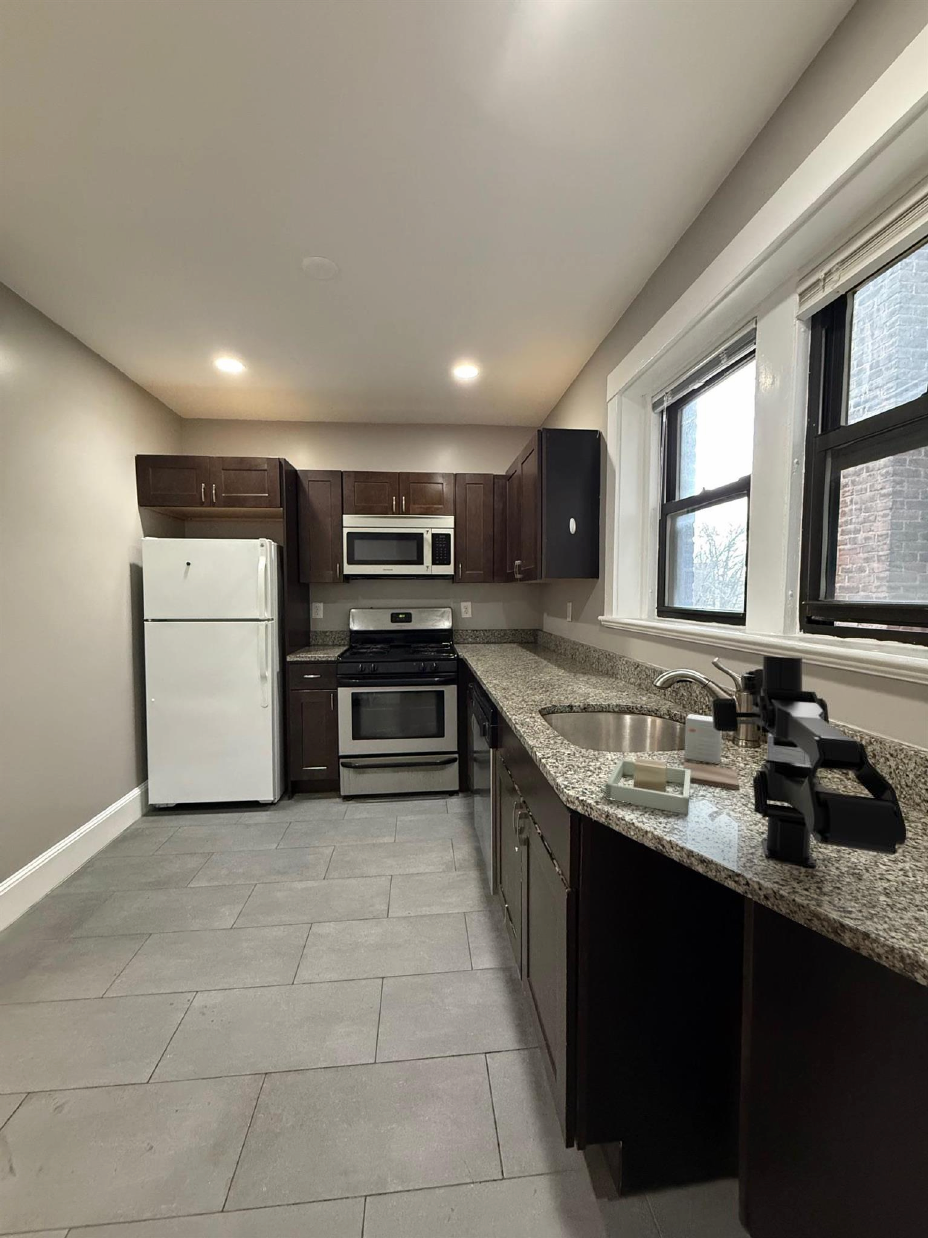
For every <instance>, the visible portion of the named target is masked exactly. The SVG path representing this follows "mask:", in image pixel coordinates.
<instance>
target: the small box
mask: <svg viewBox="0 0 928 1238" xmlns="http://www.w3.org/2000/svg"><path fill="white" fill-rule="evenodd" d="M684 732H685V733H684V759H687V760H692V761H698V762H705V763H711V764H718V765H719V763H720V761H721V759H722V743H723V742H722V740H723V739H722V738H723V737H722V736H723V735H722V734H723V731H717V730H716V729H714V728H713V718H712V716H709V715H708V716H707V715H700V714H699V715H698V714H691V713H689V714H688V715H687V716H686V717H685V730H684Z"/></svg>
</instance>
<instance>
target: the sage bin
mask: <svg viewBox="0 0 928 1238" xmlns="http://www.w3.org/2000/svg"><path fill="white" fill-rule="evenodd" d="M635 761H636V760H627V759H622V758H619V760H618V762H616V765H615V767H614V769H613V771H612V772H611V774H610V775H609V778H608V780H607V782H606V783H605V798H606V797H607V798H612V799H615V800H619V801H624V802H627V803H626V804H629V803H631V804H630V805H636V806H640V807H645V808H651V809H656V810H657V809H658V810H663V811H667V812H672V813H673V812H674V813H677V814H683V815H689V809H690V808H689V806H690V790H691V782H690V775H691V770H689V769H684V768H681V767H675V766H668V765H667V777H666V782H671V783H677V784H683V791H682V792H683V795H680V794H675V793H669V792H666V793H664V792H658V791H653V790H647V789H641V788H635V787H634V786H630V785H629V786H628V785H623V784H619V783H620V781H621V778H622V777H623V775H629V776H633V777H634V764H635ZM619 801H618V802H619ZM624 802H623V803H624Z"/></svg>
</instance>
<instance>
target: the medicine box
mask: <svg viewBox="0 0 928 1238" xmlns="http://www.w3.org/2000/svg"><path fill="white" fill-rule="evenodd" d="M766 747H767V748H766V749H767V751H766V760H771V761H780V762H789V763H798V764H807V765H810V759H809V756H808V755H807V754H806V753H805V752H804V751H803V750H802V749H801V748H800V747H799V746H798V747H797V748H792V747H783V746H774V745H773V736H772V735H771V734H770V733H769V734H768V735H767V746H766Z"/></svg>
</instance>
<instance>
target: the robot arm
mask: <svg viewBox="0 0 928 1238" xmlns="http://www.w3.org/2000/svg"><path fill="white" fill-rule="evenodd" d="M740 685H741V689H742V692H744V693H745V692H746V693H748V696H752V697H750V699H749V700H750V706H753V707H752V708H751V711H737V702H736V698H734V697H732V698H731V697H730V698H729V697H728V698H727V697H725V698H720V697H718V698H716V697H715V698H713V699H712V700H711V701H710V702H711V715H712V716H711V717H712V718H713V728H714V729H716V730H717V731H722V732H738V730H739V726H738V725H755V731H756V732H760V733H765V734H766V733H767V734H769V735H770V734H771V735H772V736H773V745H774V746H783V747H792V748H797V747H798V746H799V747H800V748H801V749H802V750H803V751H804V752H805V753H806V754H807V755H808V756H809V765H807V764H798V763H789V762H780V761H771V760H767V759H765V760H764V763H763V764H761V767H760V769H757V771H756V773H755V776H754V777H753V778H752V785H753V788H752V789H753V797H754V798H753V799H754V804H753V805H754V806H753V807H754V808H753V811H754V813H756V814H759V815H761V818H767V829H766V832H767V833H766V838H762V839H761V845H762V848H763V851H764V856H765V858H767V859H769V860H773V861H778V862H782V863H787V864H792V865H798V866H801V867H807V868H812V869H816V868H817V862H815V859H814V857H813V854H812V852H811V838H812V837H813V838H814V840H815V841H816V842H817V843H818V844H821V845H826V846H833V847H838V848H845V849H852V850H858V851H863V852H864V851H865V852H870V853H877V854H884V855H890V856H893V855H896V854H897V853H898V849H897V846H903V845H904V844H905V842H906V840H907V826H906V822H905V819H904V815H903V812H902V809H901V806H900V803H899V799H898V796H897V792H896V790H895V788H894V786H893V784H891V783H890V782H889V781H888V780H887V779H886V778H885V777H884V776H883V775H882V773H880V772H879V770H877V769H876V767H875V766H874V765H872V763H870V761H869V757H868V754H867V750H866V747H865V744H864V743H863V741H860V740H857V739H856V738H855V737H854V738H853V737H849V736H848V735H846V734H845V733H843V732H842V731H840V730H839V729H837V728H836V727H834V726H832V725H831V724H830V719H829V718H830V717H829V709H828V704H827V701H826V700H825V699H823V698H821V697H820V698H819V697H818V696H817V694H816V691H812V690H811V691H809V690H803V658H801V657H788V656H765V655H764V656H762V668H756V669H755V670H749V671H745V674H742V675H741V676H740ZM819 769H824V770H825V769H826V770H832V771H833V770H834V771H842V772H850V773H853V776H854V777H855V778H856V780H857V781H858V782H859V783H860V784H861V785H862V786H863V787H864V788H865V790H866V791H868V793H869V794H870V795H871V796H872V797H869V796H863V795H855V794H847V793H840V792H839V791H836V790H833V789H831V788H829V787H827V786H825V785H823V784H822V783H821V780H820V776H819V775H818V773H819V772H818V771H819ZM768 802H776V803H768ZM777 803H783V804H788V805H783V804H777ZM811 836H812V837H811Z"/></svg>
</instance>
